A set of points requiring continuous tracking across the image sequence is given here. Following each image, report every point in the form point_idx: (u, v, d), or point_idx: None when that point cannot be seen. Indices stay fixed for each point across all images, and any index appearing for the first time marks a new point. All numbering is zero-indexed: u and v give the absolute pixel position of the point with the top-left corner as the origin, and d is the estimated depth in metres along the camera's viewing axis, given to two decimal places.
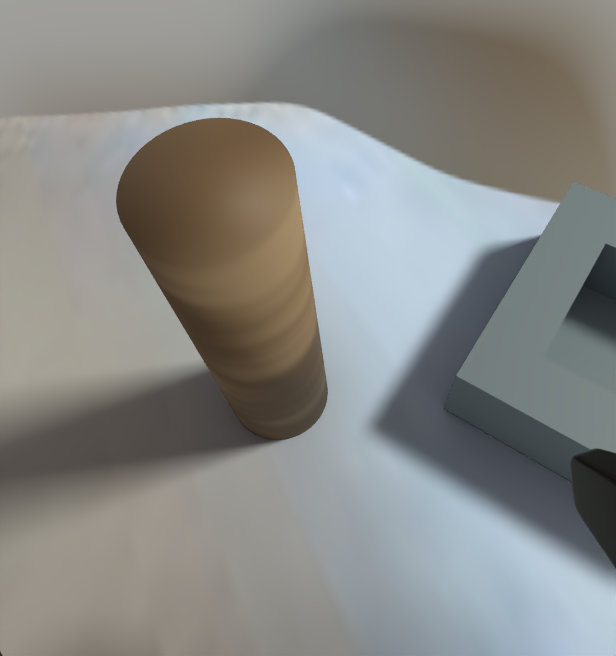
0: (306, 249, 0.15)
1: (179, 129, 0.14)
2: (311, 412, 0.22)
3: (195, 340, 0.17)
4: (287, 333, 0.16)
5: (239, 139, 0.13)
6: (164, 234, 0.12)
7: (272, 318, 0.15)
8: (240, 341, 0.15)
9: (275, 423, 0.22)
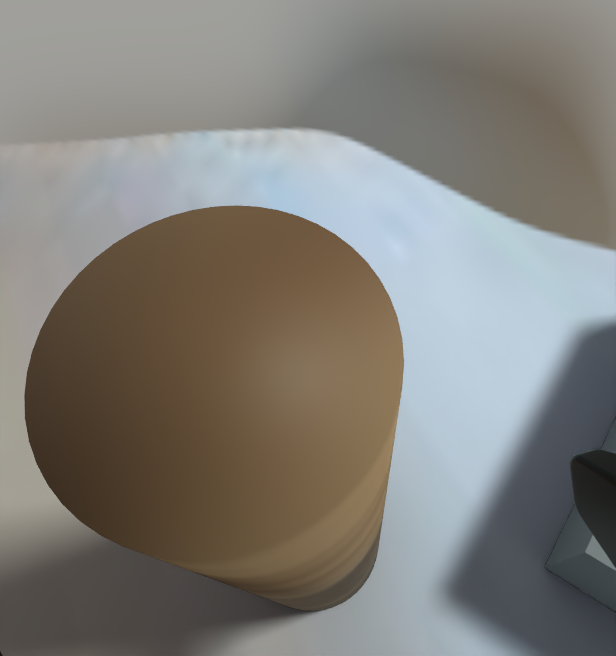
0: None
1: (159, 228, 0.07)
2: (360, 583, 0.16)
3: None
4: (351, 556, 0.09)
5: (280, 253, 0.07)
6: (121, 481, 0.06)
7: (332, 560, 0.08)
8: (271, 588, 0.09)
9: (311, 607, 0.15)
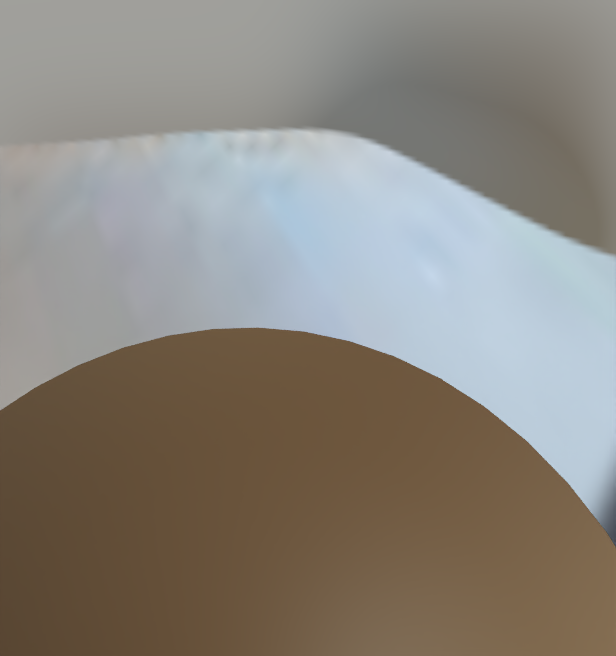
0: None
1: (93, 380, 0.03)
2: None
3: None
4: None
5: (363, 451, 0.03)
6: None
7: None
8: None
9: None
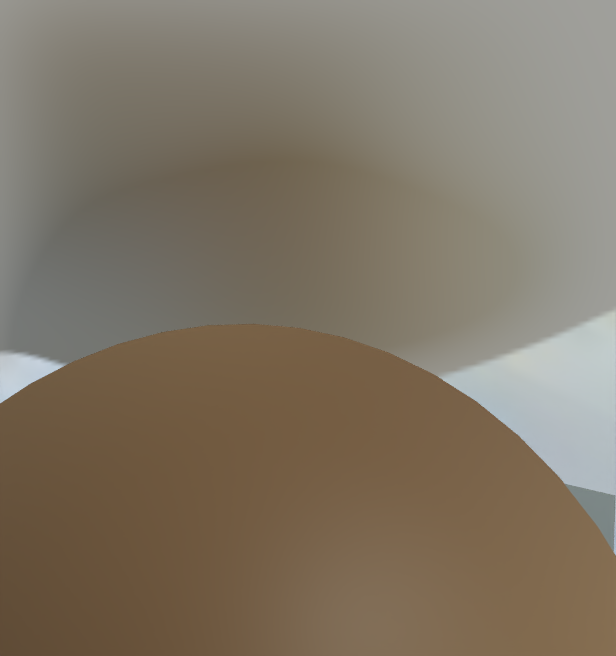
0: None
1: (87, 376, 0.03)
2: None
3: None
4: None
5: (357, 446, 0.03)
6: None
7: None
8: None
9: None
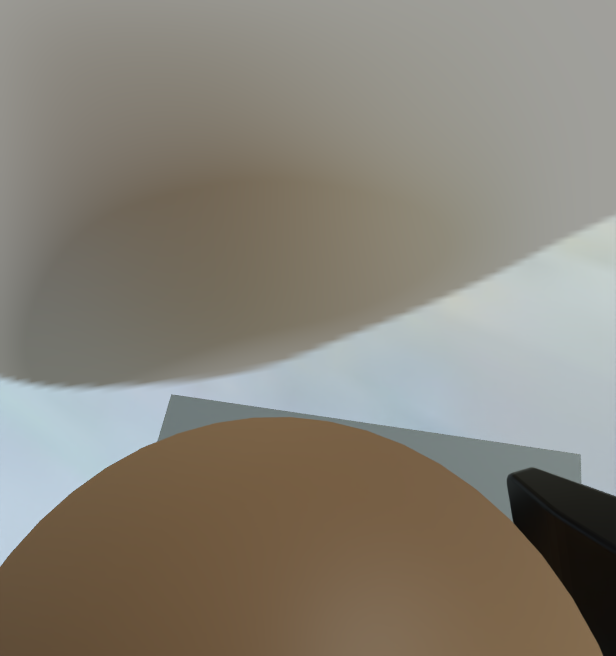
0: None
1: (153, 462, 0.04)
2: None
3: None
4: None
5: (378, 528, 0.04)
6: None
7: None
8: None
9: None
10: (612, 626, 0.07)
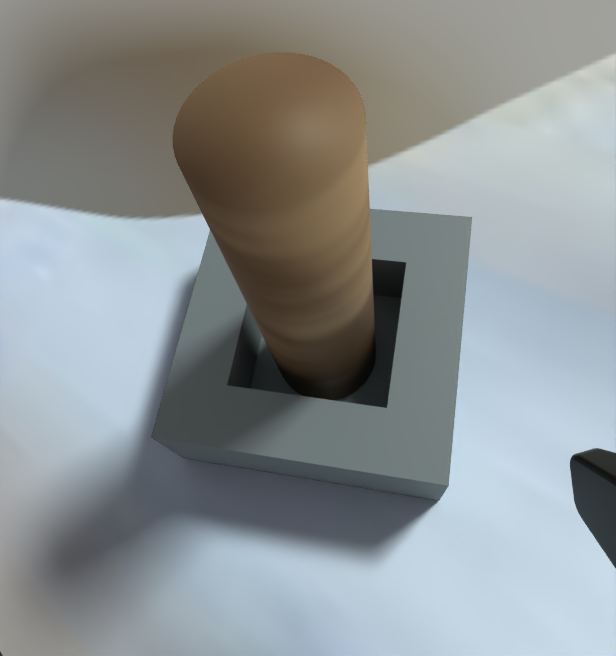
0: None
1: (234, 66, 0.13)
2: (361, 372, 0.22)
3: (250, 296, 0.16)
4: (347, 287, 0.15)
5: (302, 75, 0.12)
6: (226, 178, 0.12)
7: (334, 270, 0.14)
8: (299, 295, 0.15)
9: (326, 383, 0.21)
10: None
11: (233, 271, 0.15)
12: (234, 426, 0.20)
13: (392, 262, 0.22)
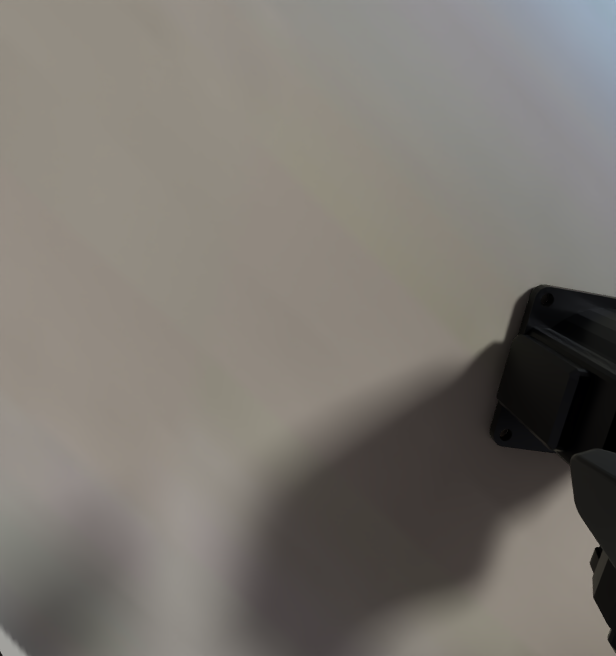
0: None
1: None
2: None
3: None
4: None
5: None
6: None
7: None
8: None
9: None
10: None
11: None
12: None
13: None
